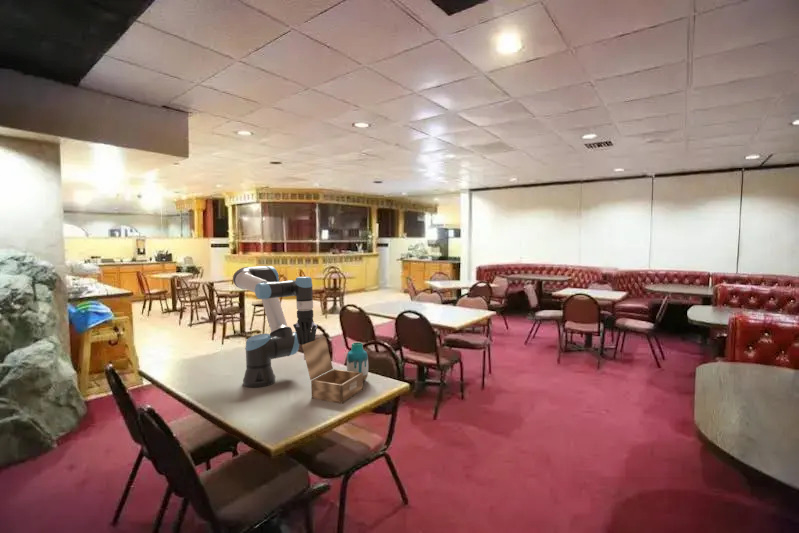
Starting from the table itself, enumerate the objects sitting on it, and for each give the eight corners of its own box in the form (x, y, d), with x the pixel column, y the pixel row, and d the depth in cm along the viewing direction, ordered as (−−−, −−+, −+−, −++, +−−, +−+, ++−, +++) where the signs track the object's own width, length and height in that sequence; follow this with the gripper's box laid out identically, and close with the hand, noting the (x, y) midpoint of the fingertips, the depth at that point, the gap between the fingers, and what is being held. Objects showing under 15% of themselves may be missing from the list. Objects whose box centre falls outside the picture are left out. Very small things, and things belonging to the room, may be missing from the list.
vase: (365, 385, 195) (364, 346, 193) (344, 384, 197) (343, 345, 196) (371, 378, 205) (370, 341, 204) (351, 377, 207) (350, 340, 206)
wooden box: (311, 398, 180) (311, 380, 179) (334, 385, 196) (333, 368, 195) (342, 403, 173) (342, 385, 172) (363, 389, 189) (363, 373, 189)
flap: (311, 379, 180) (310, 380, 180) (332, 368, 195) (331, 369, 195) (303, 344, 180) (301, 345, 181) (325, 336, 196) (323, 336, 196)
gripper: (288, 310, 189) (290, 360, 190) (311, 311, 183) (313, 362, 184) (299, 308, 196) (300, 356, 196) (321, 308, 190) (322, 358, 191)
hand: (306, 359), depth 190 cm, fingers closed
